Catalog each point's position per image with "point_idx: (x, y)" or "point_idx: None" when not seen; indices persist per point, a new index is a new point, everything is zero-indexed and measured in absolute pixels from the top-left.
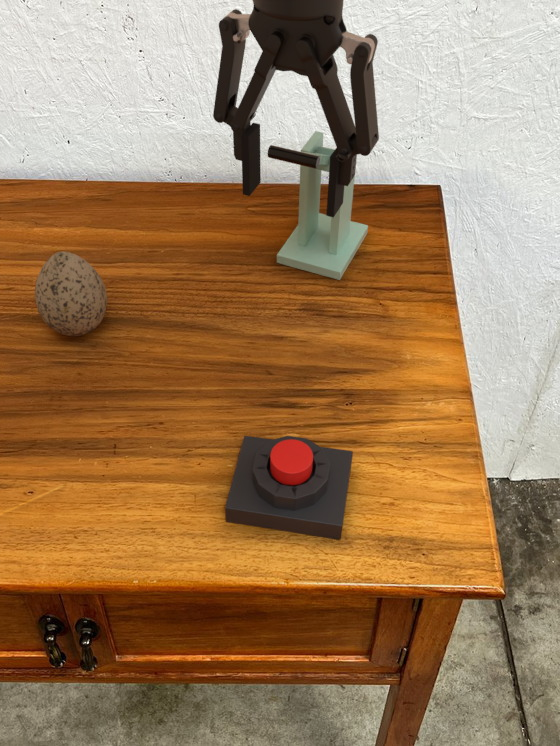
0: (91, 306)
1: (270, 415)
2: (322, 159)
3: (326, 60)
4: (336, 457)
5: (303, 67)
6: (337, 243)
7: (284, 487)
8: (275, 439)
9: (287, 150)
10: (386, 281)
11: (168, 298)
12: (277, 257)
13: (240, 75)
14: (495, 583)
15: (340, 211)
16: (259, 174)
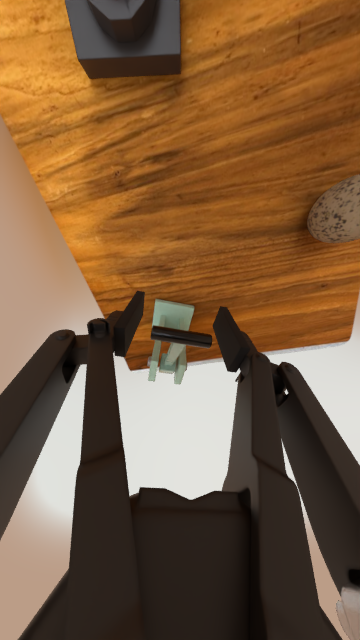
0: (337, 192)
1: (169, 139)
2: (166, 357)
3: (46, 604)
4: (87, 39)
5: (149, 532)
6: (160, 318)
7: None
8: (141, 3)
9: (189, 341)
10: None
11: (255, 261)
12: (193, 307)
13: (282, 440)
14: None
15: None
16: (215, 329)
